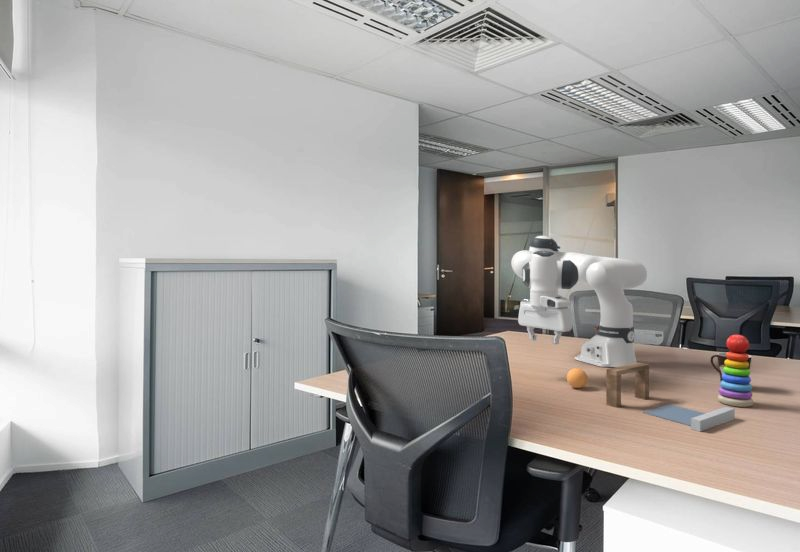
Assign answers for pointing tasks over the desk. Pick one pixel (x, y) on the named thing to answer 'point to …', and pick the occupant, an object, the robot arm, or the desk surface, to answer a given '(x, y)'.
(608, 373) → the bridge
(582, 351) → the robot arm
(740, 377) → the stacking toy
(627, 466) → the desk surface
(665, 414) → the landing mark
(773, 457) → the desk surface
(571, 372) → the ball
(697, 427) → the stopper wall
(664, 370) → the desk surface
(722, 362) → the coffee mug
